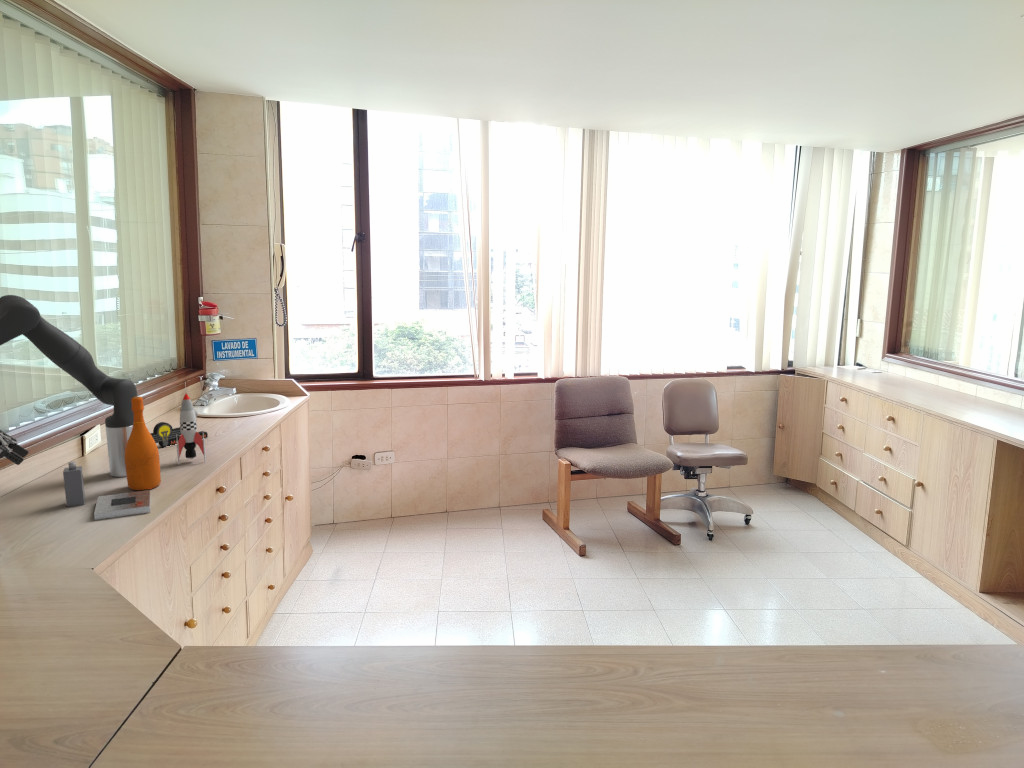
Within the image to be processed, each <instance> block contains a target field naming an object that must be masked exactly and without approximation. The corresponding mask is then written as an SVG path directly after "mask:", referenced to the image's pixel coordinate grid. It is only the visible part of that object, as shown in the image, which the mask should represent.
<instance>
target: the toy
mask: <svg viewBox="0 0 1024 768" xmlns="http://www.w3.org/2000/svg"><path fill="white" fill-rule="evenodd" d="M186 385H187V383H186V381H185V382H184V387H185V390H184V391H185V394H184V396H183V398H182V401H181V407H180V411H179V412H180V413H179V427H180V431H181V435H180V438H179V441H178V439H177V441H176V443H177V445H176V452H177V465H178V464H180V465H181V460H180V459H181V458H180V457H181V454H182V451H183V449H185V458H186V459H194V458H196V457H197V452H196V448H197V446H198V448H199V449H200V451H201V453H202V454H203V459H204V462H205V461H206V462H207V456H206V444H205V442H206V441H205V439H204V434H203V439H202V438H201V436H200V434H199V433H197V431H198V423H197V421H198V420H197V418H198V411H197V410H196V409H195V408H194V406H193V401H192V400H191V398H190V397H189V394H187V386H186ZM176 437H177V434H176ZM206 462H205V463H206Z"/></svg>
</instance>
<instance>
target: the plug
mask: <svg viewBox="0 0 1024 768" xmlns="http://www.w3.org/2000/svg"><path fill="white" fill-rule="evenodd" d="M67 464H68V465H67V466H68V467H64V469H63V471H62V474H63V483H64V491H65V492H64V493H65V503H66V508H71V507H79V506H84V505H85V504H86V493H85V483H84V475H83V474H84V473H83V466H82V465H79V466H76V465H77V463H76V461H70V462H68V463H67Z"/></svg>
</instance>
